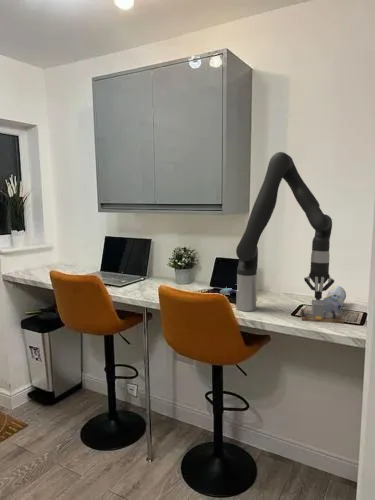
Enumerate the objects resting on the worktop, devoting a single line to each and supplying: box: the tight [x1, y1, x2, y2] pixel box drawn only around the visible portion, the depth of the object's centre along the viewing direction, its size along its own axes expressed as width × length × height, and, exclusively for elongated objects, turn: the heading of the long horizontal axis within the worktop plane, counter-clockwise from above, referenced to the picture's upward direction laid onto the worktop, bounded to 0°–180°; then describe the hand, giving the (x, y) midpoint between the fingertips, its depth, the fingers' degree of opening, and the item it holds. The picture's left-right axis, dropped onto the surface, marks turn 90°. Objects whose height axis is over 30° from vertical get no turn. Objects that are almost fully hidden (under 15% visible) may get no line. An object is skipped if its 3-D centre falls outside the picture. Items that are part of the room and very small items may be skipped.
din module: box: [311, 299, 325, 320], centre depth 160 cm, size 4×9×6 cm, turn 165°
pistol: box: [219, 287, 236, 296], centre depth 203 cm, size 4×16×15 cm
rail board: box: [300, 308, 345, 324], centre depth 160 cm, size 17×9×3 cm, turn 76°
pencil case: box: [322, 285, 347, 313], centre depth 174 cm, size 21×9×10 cm, turn 150°
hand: (318, 299), depth 160 cm, fingers closed
